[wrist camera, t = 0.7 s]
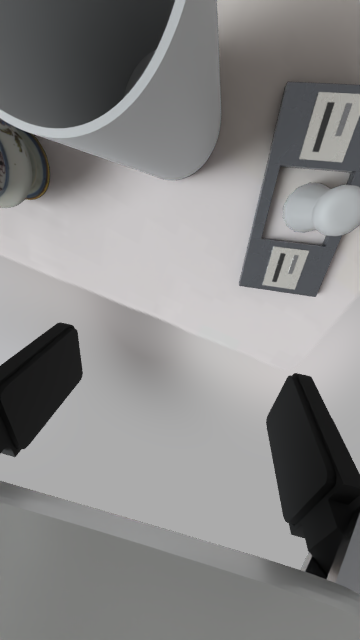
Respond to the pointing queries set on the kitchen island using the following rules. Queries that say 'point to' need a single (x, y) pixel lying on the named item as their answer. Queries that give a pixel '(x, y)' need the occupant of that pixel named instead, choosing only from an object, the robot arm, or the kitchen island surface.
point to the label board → (308, 153)
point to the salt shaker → (323, 209)
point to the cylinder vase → (115, 78)
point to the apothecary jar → (21, 166)
